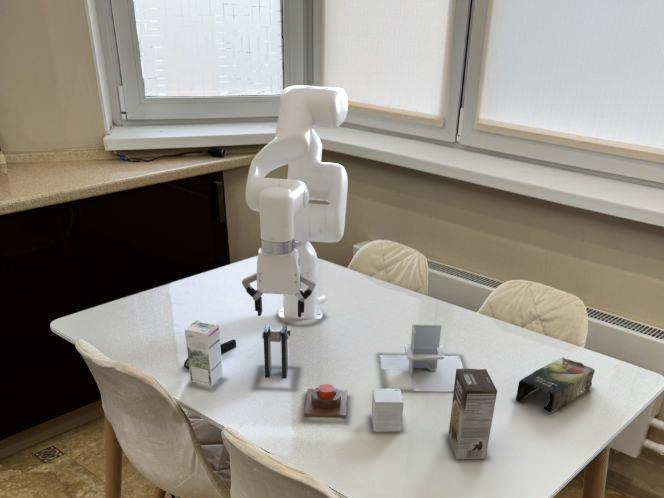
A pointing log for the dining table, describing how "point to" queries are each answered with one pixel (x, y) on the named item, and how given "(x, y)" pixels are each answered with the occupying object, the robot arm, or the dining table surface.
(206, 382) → the syrup box
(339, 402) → the button housing
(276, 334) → the switch lever
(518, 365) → the dining table surface
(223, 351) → the electric trimmer
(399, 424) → the product box
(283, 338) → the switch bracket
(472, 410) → the coffee box
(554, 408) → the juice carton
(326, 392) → the button
